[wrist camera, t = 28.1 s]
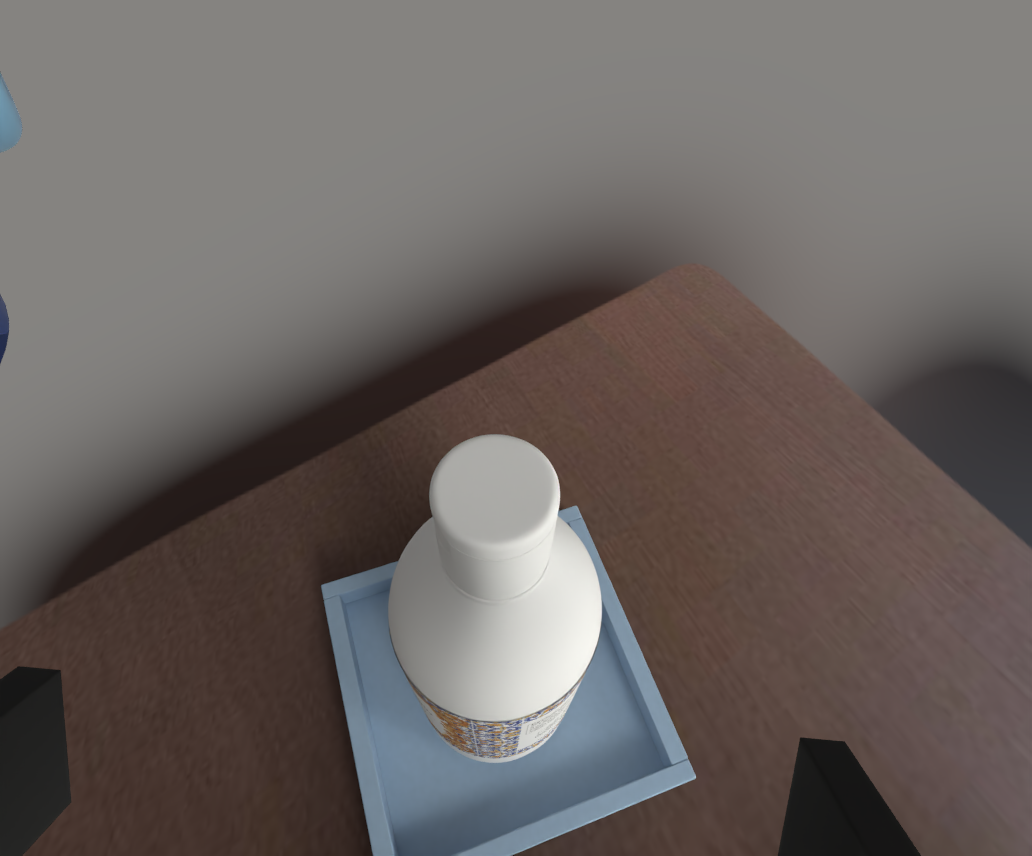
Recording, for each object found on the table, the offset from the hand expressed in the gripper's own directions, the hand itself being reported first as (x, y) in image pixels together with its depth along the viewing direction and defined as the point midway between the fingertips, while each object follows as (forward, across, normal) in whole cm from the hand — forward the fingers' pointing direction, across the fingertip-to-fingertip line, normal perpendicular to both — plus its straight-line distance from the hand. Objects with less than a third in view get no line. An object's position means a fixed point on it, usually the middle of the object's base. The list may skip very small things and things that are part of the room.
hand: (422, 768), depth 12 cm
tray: (+18, +1, -10) cm, 21 cm away
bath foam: (+18, +1, -10) cm, 21 cm away
